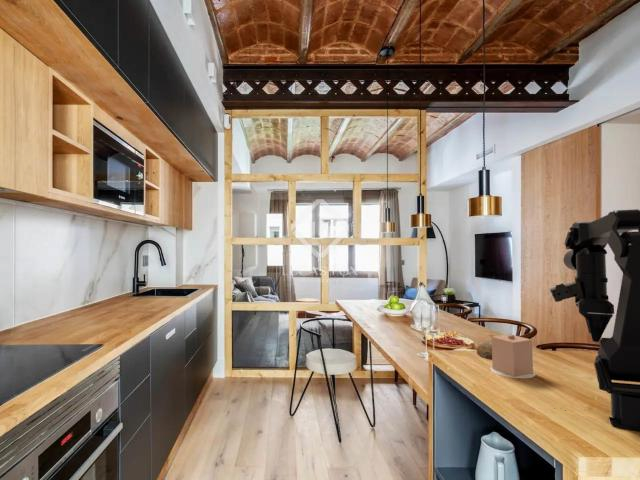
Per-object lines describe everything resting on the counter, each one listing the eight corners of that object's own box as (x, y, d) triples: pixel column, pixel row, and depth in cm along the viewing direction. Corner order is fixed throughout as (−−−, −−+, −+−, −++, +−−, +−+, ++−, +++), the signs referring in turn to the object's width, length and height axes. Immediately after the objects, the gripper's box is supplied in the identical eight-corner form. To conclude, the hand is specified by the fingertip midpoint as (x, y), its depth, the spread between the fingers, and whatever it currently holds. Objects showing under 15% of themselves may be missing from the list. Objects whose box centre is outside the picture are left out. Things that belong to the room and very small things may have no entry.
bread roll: (476, 371, 111) (475, 350, 109) (478, 349, 120) (476, 330, 117) (512, 375, 107) (511, 354, 104) (511, 352, 115) (510, 332, 112)
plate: (535, 384, 90) (534, 381, 90) (487, 377, 96) (487, 373, 96) (536, 372, 99) (536, 368, 99) (493, 365, 105) (493, 362, 105)
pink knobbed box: (533, 373, 95) (531, 336, 96) (514, 376, 93) (513, 339, 93) (510, 365, 102) (509, 331, 102) (492, 368, 99) (491, 333, 100)
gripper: (551, 270, 98) (553, 326, 98) (551, 274, 82) (554, 341, 82) (602, 270, 92) (605, 331, 91) (613, 275, 76) (616, 348, 76)
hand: (593, 337), depth 85 cm, fingers open, 9 cm apart
